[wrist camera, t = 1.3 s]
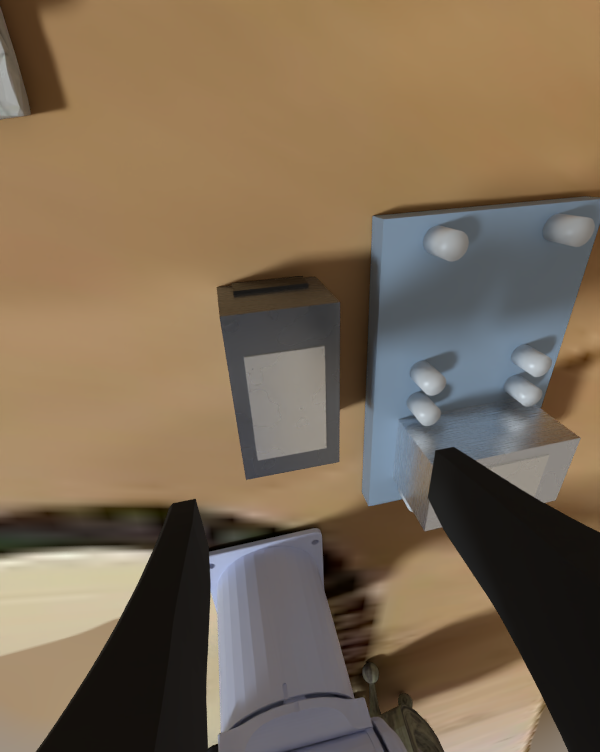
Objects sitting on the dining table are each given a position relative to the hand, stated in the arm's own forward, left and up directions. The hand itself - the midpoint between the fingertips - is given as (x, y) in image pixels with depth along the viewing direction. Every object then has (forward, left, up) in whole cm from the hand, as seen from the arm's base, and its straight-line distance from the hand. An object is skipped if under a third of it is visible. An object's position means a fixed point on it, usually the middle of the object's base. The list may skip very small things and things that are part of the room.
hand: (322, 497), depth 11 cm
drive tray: (-2, -10, -9) cm, 14 cm away
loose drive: (0, 0, -10) cm, 10 cm away
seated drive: (-7, -10, -8) cm, 15 cm away
